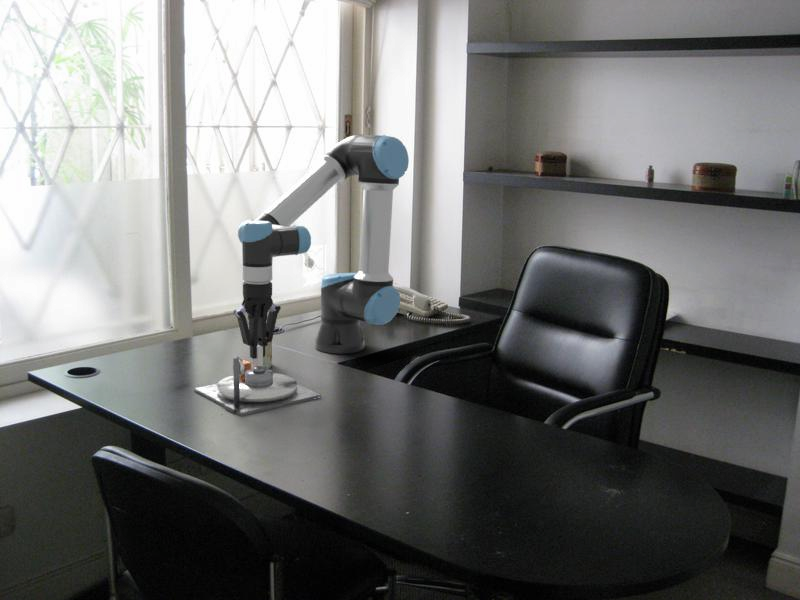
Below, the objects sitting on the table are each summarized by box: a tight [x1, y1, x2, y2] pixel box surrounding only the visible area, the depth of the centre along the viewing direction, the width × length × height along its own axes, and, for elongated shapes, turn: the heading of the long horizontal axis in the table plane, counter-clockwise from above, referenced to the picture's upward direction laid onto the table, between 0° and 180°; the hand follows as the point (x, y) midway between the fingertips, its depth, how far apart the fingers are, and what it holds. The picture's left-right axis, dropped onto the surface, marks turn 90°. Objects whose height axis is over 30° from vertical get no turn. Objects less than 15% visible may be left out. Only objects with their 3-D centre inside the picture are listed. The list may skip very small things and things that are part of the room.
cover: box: [245, 366, 274, 388], centre depth 217 cm, size 7×7×4 cm
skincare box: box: [258, 340, 273, 369], centre depth 240 cm, size 6×4×12 cm
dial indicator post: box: [224, 356, 248, 415], centre depth 205 cm, size 4×6×13 cm
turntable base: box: [194, 383, 322, 417], centre depth 217 cm, size 23×23×1 cm
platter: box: [216, 359, 298, 402], centre depth 216 cm, size 20×20×5 cm
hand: (257, 369), depth 224 cm, fingers closed
